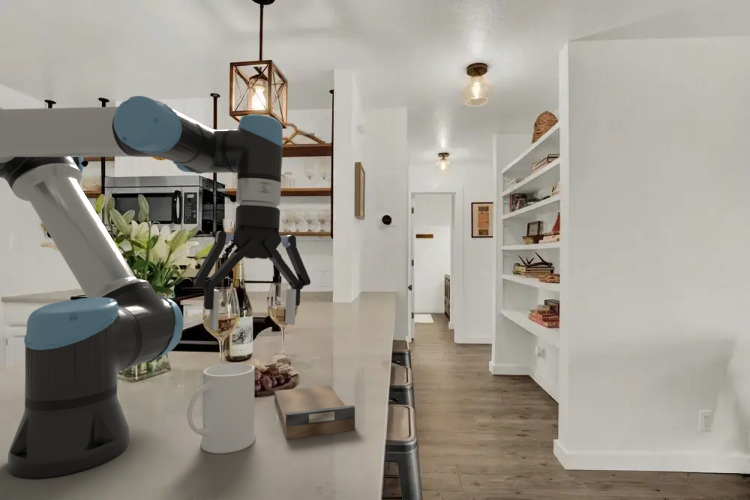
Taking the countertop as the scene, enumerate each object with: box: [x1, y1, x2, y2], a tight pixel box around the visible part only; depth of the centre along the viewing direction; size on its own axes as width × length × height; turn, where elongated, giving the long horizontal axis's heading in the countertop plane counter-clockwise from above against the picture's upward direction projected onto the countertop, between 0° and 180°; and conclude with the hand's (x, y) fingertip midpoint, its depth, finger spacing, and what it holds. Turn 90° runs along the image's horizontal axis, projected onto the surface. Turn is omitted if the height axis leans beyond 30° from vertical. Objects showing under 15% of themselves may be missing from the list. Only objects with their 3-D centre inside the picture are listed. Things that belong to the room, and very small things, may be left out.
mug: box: [186, 362, 256, 454], centre depth 69 cm, size 12×8×12 cm
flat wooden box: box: [274, 385, 356, 440], centre depth 82 cm, size 12×20×4 cm, turn 19°
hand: (253, 326), depth 75 cm, fingers open, 13 cm apart
